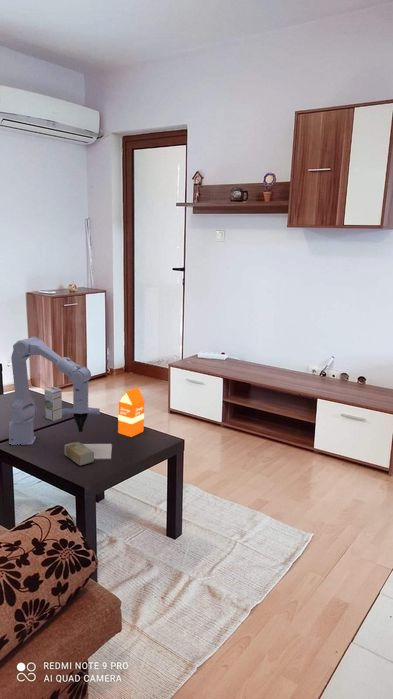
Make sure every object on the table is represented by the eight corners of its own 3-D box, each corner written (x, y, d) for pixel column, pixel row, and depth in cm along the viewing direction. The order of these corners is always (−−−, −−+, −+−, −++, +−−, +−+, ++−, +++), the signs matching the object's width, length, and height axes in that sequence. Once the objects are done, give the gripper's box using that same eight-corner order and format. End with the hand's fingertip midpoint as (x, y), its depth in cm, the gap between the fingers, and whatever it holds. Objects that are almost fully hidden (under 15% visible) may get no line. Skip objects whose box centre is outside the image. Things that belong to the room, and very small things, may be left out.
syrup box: (62, 418, 239) (62, 388, 236) (52, 421, 234) (52, 391, 231) (54, 415, 242) (53, 386, 239) (44, 418, 237) (43, 388, 234)
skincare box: (78, 440, 202) (94, 451, 194) (78, 451, 203) (94, 461, 195) (63, 444, 198) (79, 455, 189) (63, 455, 199) (79, 466, 190)
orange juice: (117, 432, 225) (118, 389, 220) (130, 427, 232) (131, 385, 228) (131, 437, 221) (132, 393, 217) (144, 431, 228) (145, 388, 224)
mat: (74, 459, 196) (74, 458, 196) (77, 444, 210) (77, 444, 210) (110, 459, 198) (110, 458, 198) (111, 444, 212) (111, 443, 212)
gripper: (100, 395, 203) (99, 427, 206) (63, 395, 201) (63, 427, 204) (99, 401, 197) (98, 433, 200) (60, 400, 195) (61, 434, 198)
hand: (80, 431), depth 202 cm, fingers closed
